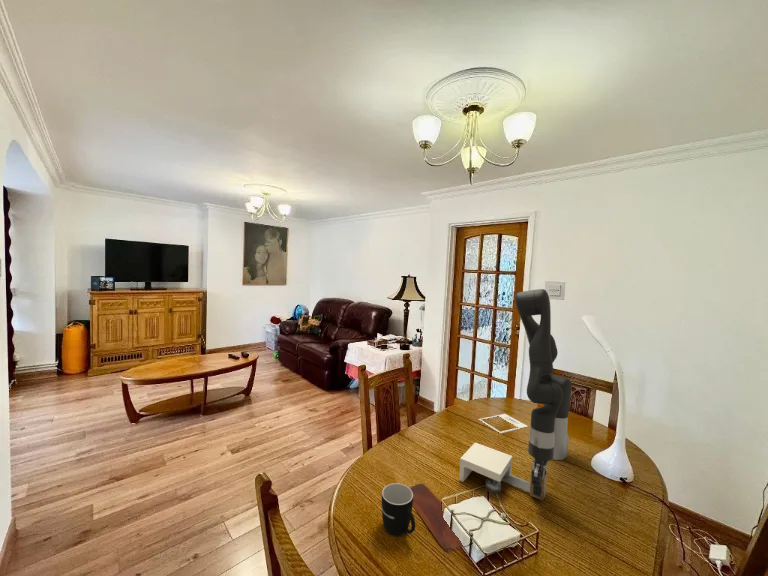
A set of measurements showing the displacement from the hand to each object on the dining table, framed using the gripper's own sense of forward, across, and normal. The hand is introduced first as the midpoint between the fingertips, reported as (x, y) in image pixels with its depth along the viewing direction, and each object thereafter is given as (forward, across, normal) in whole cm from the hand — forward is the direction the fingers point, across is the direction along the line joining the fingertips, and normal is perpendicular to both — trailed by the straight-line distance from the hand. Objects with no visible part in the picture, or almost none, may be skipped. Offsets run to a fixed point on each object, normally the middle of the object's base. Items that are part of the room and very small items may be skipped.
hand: (538, 491), depth 105 cm
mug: (+2, +41, -28) cm, 50 cm away
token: (+2, +6, -13) cm, 14 cm away
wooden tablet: (+3, +28, -24) cm, 37 cm away
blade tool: (+1, 0, -7) cm, 7 cm away
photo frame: (+3, -47, -25) cm, 53 cm away
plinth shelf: (+2, +2, -17) cm, 17 cm away
